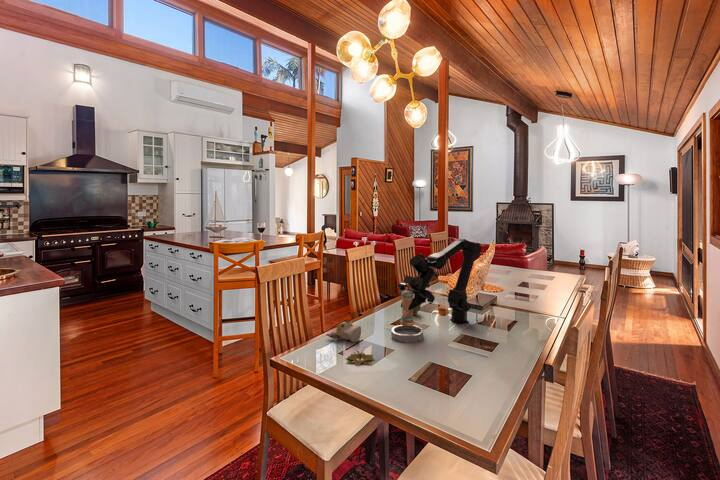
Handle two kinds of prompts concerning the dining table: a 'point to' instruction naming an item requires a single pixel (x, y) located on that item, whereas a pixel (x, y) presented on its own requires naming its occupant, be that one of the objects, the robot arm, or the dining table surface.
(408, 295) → the disc
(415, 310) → the cup
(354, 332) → the ceramic sculpture
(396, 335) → the round tray
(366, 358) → the lily flower
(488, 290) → the dining table surface
